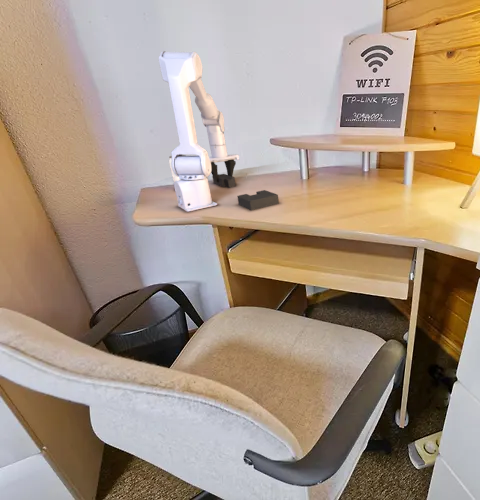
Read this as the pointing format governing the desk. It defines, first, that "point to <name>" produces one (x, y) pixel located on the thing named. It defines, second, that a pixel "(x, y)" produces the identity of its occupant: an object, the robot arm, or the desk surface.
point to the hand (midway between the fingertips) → (223, 180)
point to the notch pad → (258, 200)
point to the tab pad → (225, 180)
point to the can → (175, 178)
